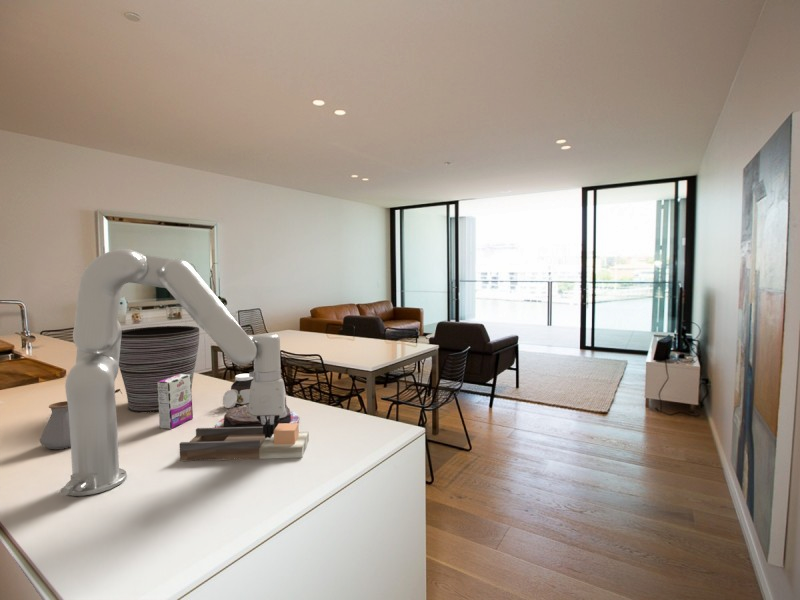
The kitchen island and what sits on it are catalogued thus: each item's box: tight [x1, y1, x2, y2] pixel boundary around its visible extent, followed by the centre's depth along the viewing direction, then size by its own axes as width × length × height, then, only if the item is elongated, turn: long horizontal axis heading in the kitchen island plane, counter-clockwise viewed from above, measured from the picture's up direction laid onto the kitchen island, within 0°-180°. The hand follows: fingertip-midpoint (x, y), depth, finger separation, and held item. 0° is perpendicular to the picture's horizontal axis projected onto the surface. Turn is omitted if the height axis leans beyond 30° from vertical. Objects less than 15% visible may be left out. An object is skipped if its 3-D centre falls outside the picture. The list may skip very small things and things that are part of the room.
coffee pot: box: [39, 388, 123, 450], centre depth 134 cm, size 21×12×15 cm, turn 129°
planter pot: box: [119, 325, 200, 413], centre depth 172 cm, size 30×30×30 cm
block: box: [274, 422, 300, 444], centre depth 127 cm, size 6×6×4 cm
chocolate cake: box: [214, 404, 300, 428], centre depth 149 cm, size 28×28×7 cm
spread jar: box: [222, 373, 254, 409], centre depth 170 cm, size 12×11×12 cm
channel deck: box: [179, 427, 310, 462], centre depth 126 cm, size 12×34×5 cm, turn 93°
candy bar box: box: [157, 374, 194, 430], centre depth 149 cm, size 11×5×16 cm, turn 168°
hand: (269, 436), depth 127 cm, fingers closed
